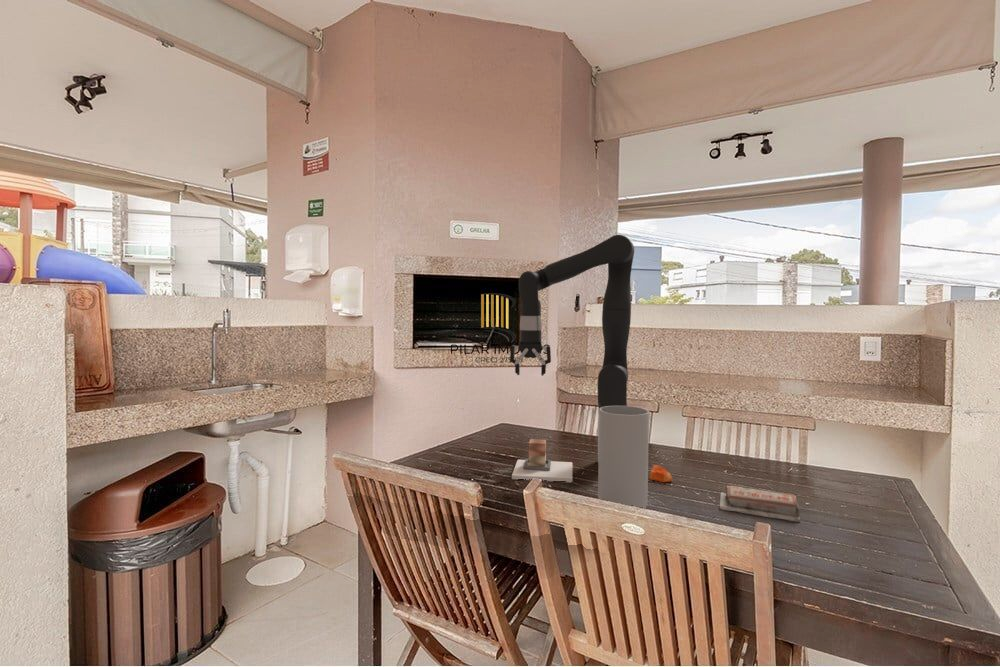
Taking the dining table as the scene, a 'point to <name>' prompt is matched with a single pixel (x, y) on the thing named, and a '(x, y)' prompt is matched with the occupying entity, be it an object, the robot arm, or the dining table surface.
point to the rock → (660, 474)
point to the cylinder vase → (623, 455)
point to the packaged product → (760, 503)
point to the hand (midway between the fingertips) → (530, 375)
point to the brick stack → (537, 452)
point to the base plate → (543, 471)
